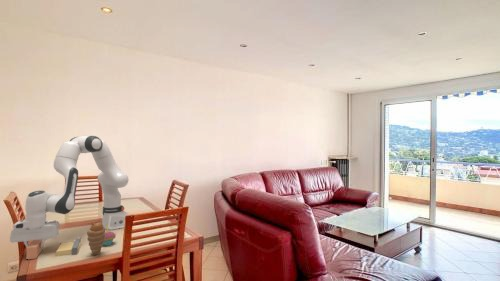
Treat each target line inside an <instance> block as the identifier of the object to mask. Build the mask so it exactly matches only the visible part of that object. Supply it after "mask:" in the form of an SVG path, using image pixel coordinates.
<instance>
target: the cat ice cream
mask: <svg viewBox="0 0 500 281" xmlns="http://www.w3.org/2000/svg"><path fill="white" fill-rule="evenodd" d="M102 222H103V221H102V220H100V221H98V222H95V221H94V222H91V226H90V228H89V230H88V231H87V233H86V235H87V236H88V237H87V241H88V246H89V248H90V251H91V252H90V253H91V255H95V256H96V255H98V254H100V253H101V251H102V248H103V246H104V245H103V242H104V240H105V232H106V229H105V228H104V227H103V224H102Z"/></svg>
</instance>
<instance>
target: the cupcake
mask: <svg viewBox="0 0 500 281" xmlns="http://www.w3.org/2000/svg"><path fill="white" fill-rule="evenodd" d="M116 236H117V235H116V233H114V232H113V231H109V230H108V224H107V229H106V231H105V240H104V242H103V246H104V247H107V246H111V245H112V244H113V241H114V239H116Z"/></svg>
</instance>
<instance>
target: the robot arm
mask: <svg viewBox="0 0 500 281" xmlns="http://www.w3.org/2000/svg"><path fill="white" fill-rule="evenodd" d="M88 153H91V155H92V158H93V159H94V162H95V164H96V166H97V168H98V170H99V171H101V172H100V173H99V174H98V176H97V180H98V181H97V182H98V183H99V185H100V187H101V190H102V195H103V206H102V210H101V212H102V213H101V214H102V218H101V221H103V222H102V224H103V227H104V228H105V230H107V224H108V231H111V230H117V229H118V230H119V228H120V229H125V228H124V221H125V216H126V215H131V214H130V213H128V212H127V211H126V210H125V206H124V205H122V194H121V192H120V191H119V189H121V188H125V187H126V186H127V185H128V183H129V180H130V179H129V176H128V175H127V174H125V173H124V171H123V170H122V169H121V168H120V167H119V165H118V163H116V161H115V159H114V156H113V154H112V152H111V150H110V148H109V146H108V144H107V143H106V141H104V140H102V139H101V138H100V137H99V136H96V135H82V136H76V137H75V136H74V137H72V138H71V139H70V140H68V141H65V142H63V143H62V144H61V146H60V147H59V149H58V151H57V153H56V155H55V157H54V159H53V160H54V161H53V169H54V170H55V171H56V172H57V173H58V174H59V175H61V176H63V177H64V179H65V182H64V188H63V193H62V194H51V193H49V192H46V191H45V190H35V191H32V192H30V193H28V195H27V196H26V199H25V208H24V209H25V217H24V219H21V220H18V221H16V222H15V223H14V224H13V225H12V229H11V231H10V236H9V242H10V243H20V242H23V245H24V246H25V247H26V250H27V247H28V246H29V245H30V243H28V242H30V241H31V242H32V241H33V240H41V239H42V241H43V242H42V243H40V244H39V248H41V247H42V248H44V244H45V242H46V240H47V239H48V240H49V239H56V238H57V237H58V236H59V233H60V232H59V231H60V230H59V228H60V221H57V220H47V213H54V214H55V213H56V214H60V215H66V214H69V213H70V212H71V211H73V209H74V207H75V205H76V191H77V185H78V180H79V170H78V169H77V163H78V160H79V156H80V155H81V154H88Z"/></svg>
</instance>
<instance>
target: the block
mask: <svg viewBox="0 0 500 281" xmlns="http://www.w3.org/2000/svg"><path fill="white" fill-rule="evenodd" d="M42 242H43V241H42V239H41V240H31V243H29V246H28V247H27V249H26V257H25V259H28V260H33V259H34V260H35V259H37V258H38V257H39V255H40V254H41V252H42V251H43V247H41V248H39V244H40V243H42Z"/></svg>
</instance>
